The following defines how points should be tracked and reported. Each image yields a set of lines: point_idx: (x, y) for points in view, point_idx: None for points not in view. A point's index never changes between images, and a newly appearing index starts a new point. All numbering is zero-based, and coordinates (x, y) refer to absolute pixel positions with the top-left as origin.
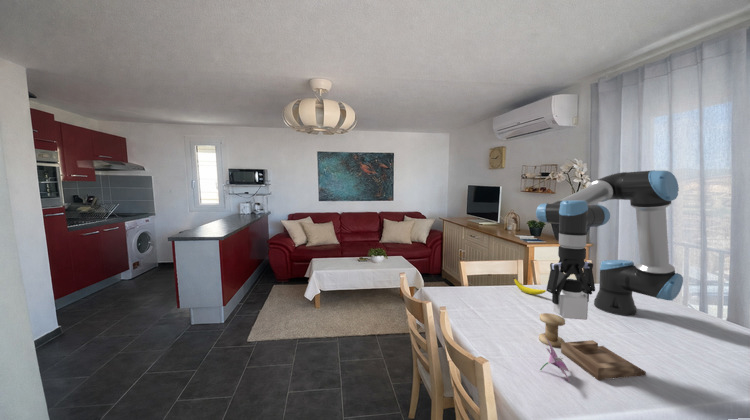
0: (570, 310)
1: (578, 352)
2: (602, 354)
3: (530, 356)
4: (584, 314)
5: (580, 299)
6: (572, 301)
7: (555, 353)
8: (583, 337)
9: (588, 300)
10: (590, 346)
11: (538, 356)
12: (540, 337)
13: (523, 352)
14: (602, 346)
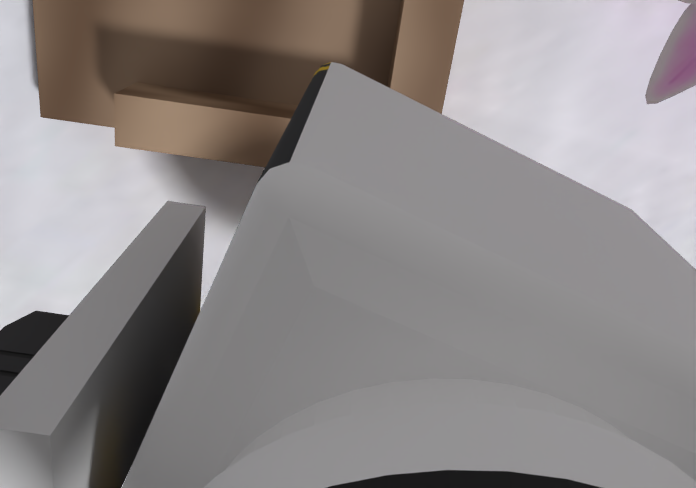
0: (598, 221)
1: (429, 24)
2: (156, 18)
3: (689, 186)
4: (369, 93)
5: (495, 250)
6: (651, 305)
7: (676, 52)
8: (63, 272)
9: (5, 332)
10: (196, 98)
11: (632, 170)
12: None
13: (688, 240)
14: (50, 111)
